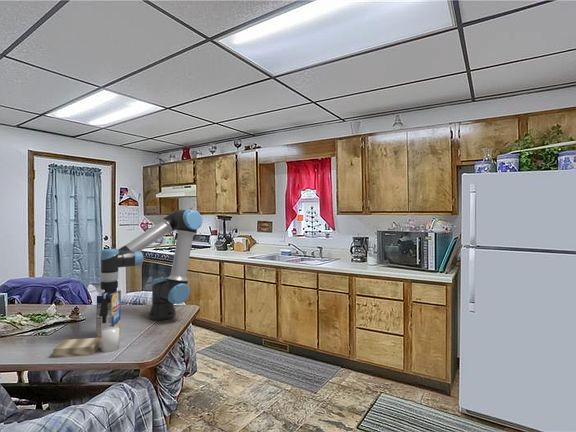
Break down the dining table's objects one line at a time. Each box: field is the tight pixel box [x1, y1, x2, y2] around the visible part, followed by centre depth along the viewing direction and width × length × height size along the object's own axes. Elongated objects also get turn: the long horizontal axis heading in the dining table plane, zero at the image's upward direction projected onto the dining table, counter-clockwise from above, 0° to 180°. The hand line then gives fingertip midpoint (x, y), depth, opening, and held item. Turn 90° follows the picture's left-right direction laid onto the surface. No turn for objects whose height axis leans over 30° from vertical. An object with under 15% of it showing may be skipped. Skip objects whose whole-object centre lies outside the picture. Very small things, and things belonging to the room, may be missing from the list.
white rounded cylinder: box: [100, 327, 120, 353], centre depth 148 cm, size 7×7×9 cm
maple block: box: [52, 337, 101, 358], centre depth 145 cm, size 15×11×4 cm
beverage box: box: [95, 290, 122, 338], centre depth 161 cm, size 7×11×22 cm, turn 7°
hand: (108, 325), depth 161 cm, fingers closed on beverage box, 11 cm apart
